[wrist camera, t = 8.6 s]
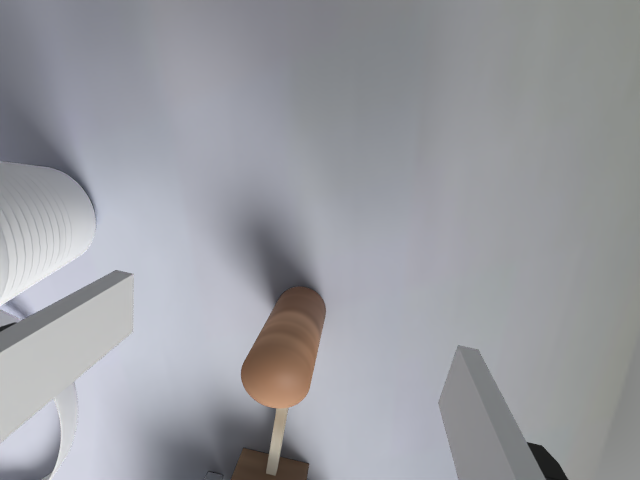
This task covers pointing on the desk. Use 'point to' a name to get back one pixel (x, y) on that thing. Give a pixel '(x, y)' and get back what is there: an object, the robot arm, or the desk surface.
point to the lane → (213, 476)
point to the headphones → (65, 407)
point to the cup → (39, 225)
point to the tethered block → (282, 377)
